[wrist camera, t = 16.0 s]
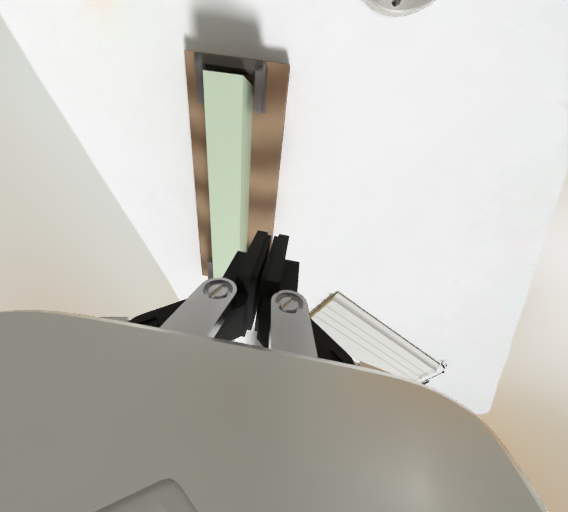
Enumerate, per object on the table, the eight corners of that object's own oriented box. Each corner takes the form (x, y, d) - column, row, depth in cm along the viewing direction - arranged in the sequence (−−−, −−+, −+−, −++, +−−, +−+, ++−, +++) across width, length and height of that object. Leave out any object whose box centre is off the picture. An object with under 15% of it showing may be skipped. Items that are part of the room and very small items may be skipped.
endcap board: (190, 54, 26) (170, 39, 22) (289, 67, 26) (287, 55, 22) (205, 270, 41) (195, 284, 37) (268, 279, 41) (264, 295, 37)
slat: (219, 81, 26) (202, 69, 21) (253, 85, 26) (242, 75, 21) (223, 266, 38) (213, 282, 34) (246, 269, 38) (238, 286, 34)
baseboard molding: (342, 285, 41) (302, 319, 46) (345, 295, 38) (302, 330, 43) (444, 359, 48) (399, 381, 53) (452, 371, 45) (404, 394, 51)
